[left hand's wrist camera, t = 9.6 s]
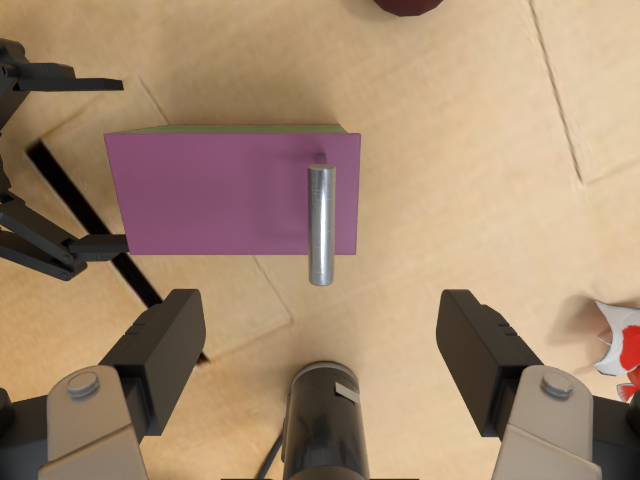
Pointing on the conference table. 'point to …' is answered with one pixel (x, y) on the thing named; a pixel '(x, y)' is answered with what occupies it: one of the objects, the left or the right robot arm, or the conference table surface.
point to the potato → (408, 6)
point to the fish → (622, 347)
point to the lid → (239, 194)
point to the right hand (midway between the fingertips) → (133, 170)
